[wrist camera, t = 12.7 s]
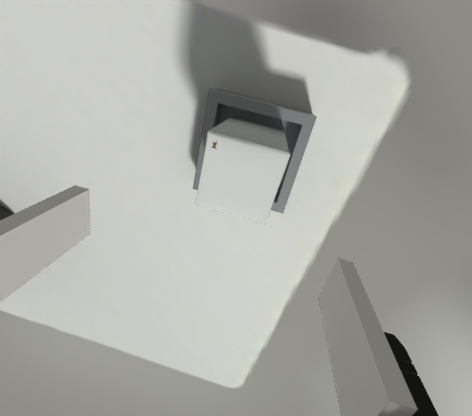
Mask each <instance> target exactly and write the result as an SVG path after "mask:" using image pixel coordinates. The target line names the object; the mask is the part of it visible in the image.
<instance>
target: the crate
mask: <svg viewBox="0 0 472 416" xmlns="http://www.w3.org/2000/svg"><path fill="white" fill-rule="evenodd" d="M230 117H236V118H240V119H243V120H247V121H251V122H255V123H259V124H262V125H266V126H270V127H273V128H277V129H280V130H283V131H285V135H286V139H287V144H288V149H289V152H290V158H289V160H288V163H287V166H286V169H285V172H284V174H283V177H282V180H281V183H280V185H279V188H278V191H277V194H276V196H275V199H274V202H273V205H272V208H271V210H273V211H276V212H280V213H283V212H284V209H285V206H286V203H287V200H288V198H289V195H290V192H291V189H292V186H293V183H294V180H295V177H296V175H297V172H298V169H299V166H300V163H301V160H302V157H303V155H304V152H305V149H306V146H307V143H308V140H309V137H310V134H311V132H312V129H313V126H314V123H315V120H316V116H315V115H313V114H311V113H307V112H303V111H300V110H296V109H292V108H288V107H284V106H280V105H276V104H272V103H269V102H265V101H261V100H257V99H253V98H249V97H245V96H241V95H238V94H234V93H230V92H226V91H222V90H218V89H209V95H208V101H207V107H206V113H205V119H204V125H203V131H202V137H201V143H200V149H199V155H198V161H197V167H196V173H195V179H194V185H193V189H196V190H198V186H199V181H200V175H201V168H202V162H203V156H204V150H205V144H206V138H207V132H208V131H209V130H211V129H212V128H214V127H216V126H217V125H219V124H220V123H222V122H224V121H225V120H227V119H229V118H230Z"/></svg>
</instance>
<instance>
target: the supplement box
mask: <svg viewBox="0 0 472 416" xmlns="http://www.w3.org/2000/svg"><path fill="white" fill-rule="evenodd" d="M289 158H290V152H289V149H288V144H287V139H286V135H285V131H283V130H280V129H277V128H273V127H270V126H266V125H262V124H259V123H255V122H251V121H247V120H243V119H240V118H236V117H230V118H229V119H227V120H225V121H224V122H222V123H220V124H219V125H217V126H216V127H214V128H212V129H211V130H209V131H208V132H207V138H206V144H205V150H204V156H203V162H202V168H201V175H200V181H199V186H198V192H197V197H196V203H195V204H196V205H197V206H201V207H205V208H208V209H212V210H215V211H219V212H222V213H226V214H229V215H233V216H237V217H240V218H244V219H247V220H251V221H255V222H258V223H262V224H266V222H267V219H268V216H269V213H270V210H271V208H272V205H273V202H274V199H275V196H276V194H277V191H278V188H279V185H280V183H281V180H282V177H283V174H284V172H285V169H286V166H287V163H288V160H289Z"/></svg>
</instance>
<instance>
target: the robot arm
mask: <svg viewBox="0 0 472 416" xmlns="http://www.w3.org/2000/svg"><path fill="white" fill-rule="evenodd" d="M89 234H90V204H89V189H86V188H83V187H79V186H76V185H75V186H73V187H71V188H69V189H66V190H64V191H62V192H60V193H58V194H56V195H54V196H52V197H49V198H47V199H45V200H43V201H41V202H39V203H37V204H34V205H32V206H30V207H28V208H26V209H24V210H22V211H20V212H17V213H15V214H12V213H10V212H9V211H8V210H6V209H5V208H3V207H1V206H0V302H2V301H3V300H4V299H5V298H7V297H8V296H9V295H11V294H12V293H13V292H15V291H16V290H17V289H19V288H20V287H21V286H22V285H24V284H25V283H26V282H28V281H29V280H30V279H32V278H33V277H34V276H36V275H37V274H38V273H39V272H41V271H42V270H43V269H45V268H46V267H47V266H49V265H50V264H51V263H53V262H54V261H55V260H56V259H58V258H59V257H60V256H62V255H63V254H64V253H66V252H67V251H68V250H70V249H71V248H72V247H73V246H75V245H76V244H77V243H79V242H80V241H81V240H83V239H84V238H85V237H87V236H88V235H89ZM318 301H319V306H320V310H321V316H322V321H323V326H324V331H325V336H326V341H327V347H328V352H329V357H330V362H331V367H332V372H333V377H334V382H335V388H336V392H337V397H338V403H339V408H340V413H341V416H438V414H437V412H436V410H435V408H434V406H433V404H432V402H431V400H430V398H429V396H428V394H427V392H426V390H425V388H424V385H423V383H422V382H421V379H420V378H419V376H417V371H416V369H415V367H414V365H412V361H411V359H410V357H409V355H408V353H407V351H406V349H405V348H404V346H403V345H402V344H401V343H400V342H399V340H398V339H397V338H396V337H395V336H394V335H392V334H389V333H386V332H383V330H382V327H381V325H380V323H379V320H378V318H377V316H376V313H375V311H374V310H373V307H372V304H371V302H370V300H369V298H368V295H367V293H366V291H365V289H364V286H363V284H362V282H361V279H360V277H359V275H358V273H357V270H356V268H355V266H354V264H353V262H351V261H347V260H344V259H340V258H338V259H337V261H336V263H335V265H334V267H333V269H332V271H331V273H330V275H329V277H328V279H327V281H326V283H325V285H324V287H323V289H322V291H321V293H320V295H319V297H318Z"/></svg>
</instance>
